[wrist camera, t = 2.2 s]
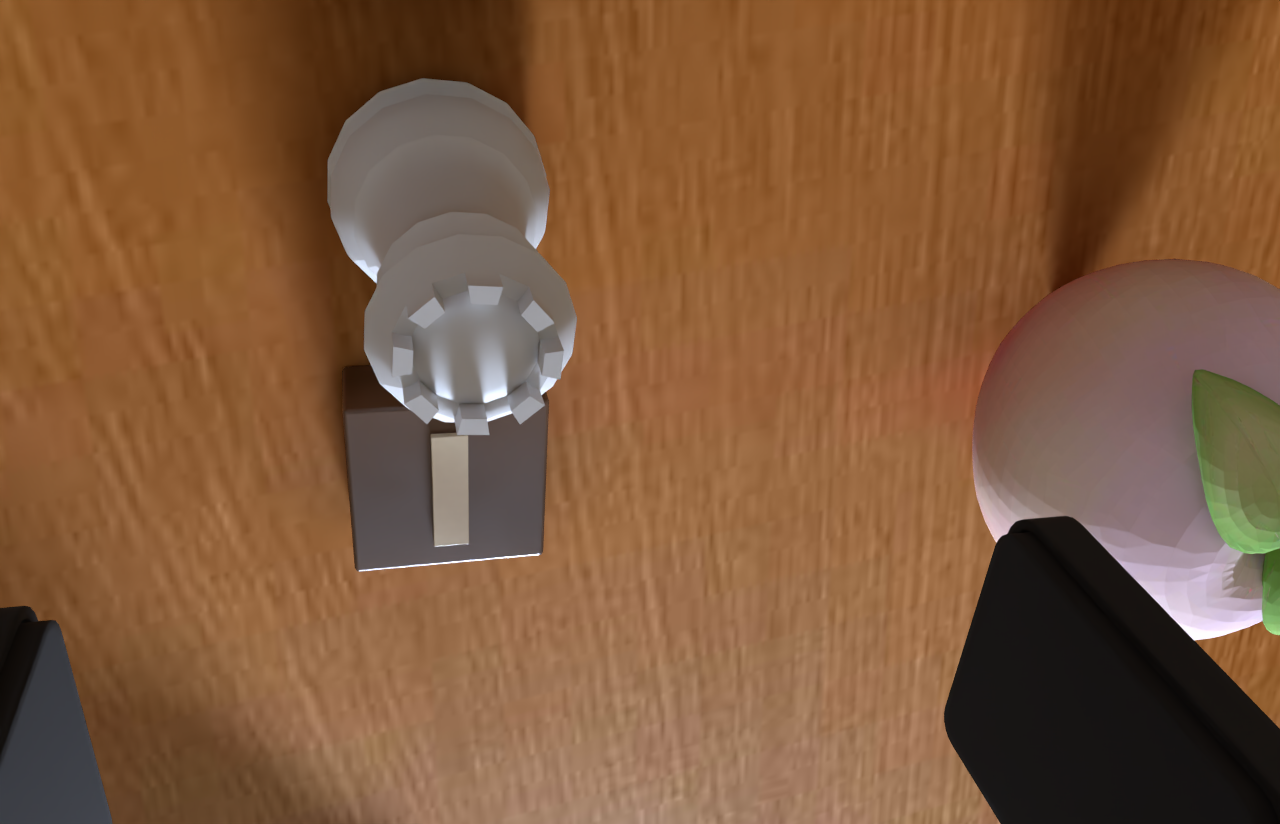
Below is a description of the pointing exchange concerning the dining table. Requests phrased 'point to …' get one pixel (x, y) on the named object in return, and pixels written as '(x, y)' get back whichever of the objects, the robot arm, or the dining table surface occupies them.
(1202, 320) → the decorative fruit
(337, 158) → the rook chess piece
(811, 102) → the dining table surface
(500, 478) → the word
